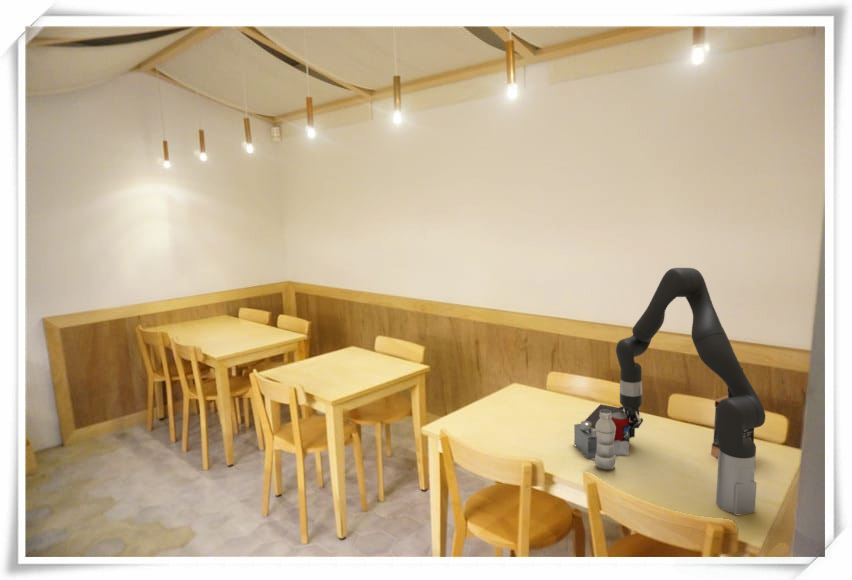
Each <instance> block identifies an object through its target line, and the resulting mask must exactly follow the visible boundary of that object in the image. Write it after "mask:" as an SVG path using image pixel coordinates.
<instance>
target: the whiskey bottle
mask: <svg viewBox="0 0 852 580" xmlns="http://www.w3.org/2000/svg"><path fill="white" fill-rule="evenodd" d="M741 368H742V367H741ZM742 370H743V371H744V369H743V368H742ZM731 397H733V396H732V393H731V391H730V390H729V388H728V387H727V394H726V395H724V396H721V397H719V398H716V399H714V407H715V408H714V409H715V411H714V426H713V441H712V443H711V447H710V448H711V449H710V455H711V456H713V457H715V458H717V459H718V455H719V442H718V439H717V425H716V411H717V406H718V403H719V402H720V401H721V400H722V399H726V398H731ZM743 437H745V438H748V439H750V440H751V441H753V442H754V440H755V439H754V438H755V428H752V429H747V430H743ZM754 443H755V442H754Z"/></svg>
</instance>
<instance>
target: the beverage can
mask: <svg viewBox="0 0 852 580" xmlns="http://www.w3.org/2000/svg"><path fill="white" fill-rule="evenodd" d="M611 416H612V418H611V420H612V421H613V422H614V424H615V426H616V432H615V437H614V441H616V440H623V441H629V442H630V438H629V419H628V417H627V415H626V414H625V413H621V412H615V413H612V415H611Z"/></svg>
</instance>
